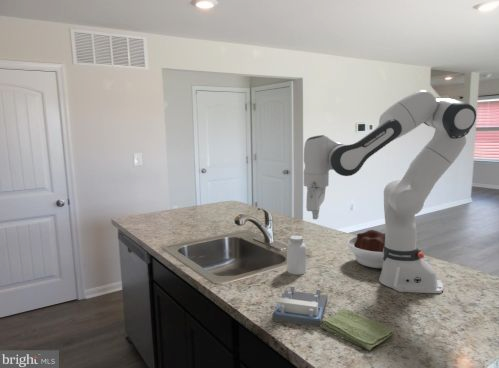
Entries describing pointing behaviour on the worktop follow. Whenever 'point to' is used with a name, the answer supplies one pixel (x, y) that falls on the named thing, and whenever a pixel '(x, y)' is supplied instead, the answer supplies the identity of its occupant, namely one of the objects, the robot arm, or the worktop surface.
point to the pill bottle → (296, 256)
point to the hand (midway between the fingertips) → (315, 218)
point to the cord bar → (298, 306)
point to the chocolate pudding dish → (368, 248)
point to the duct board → (302, 318)
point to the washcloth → (357, 329)
